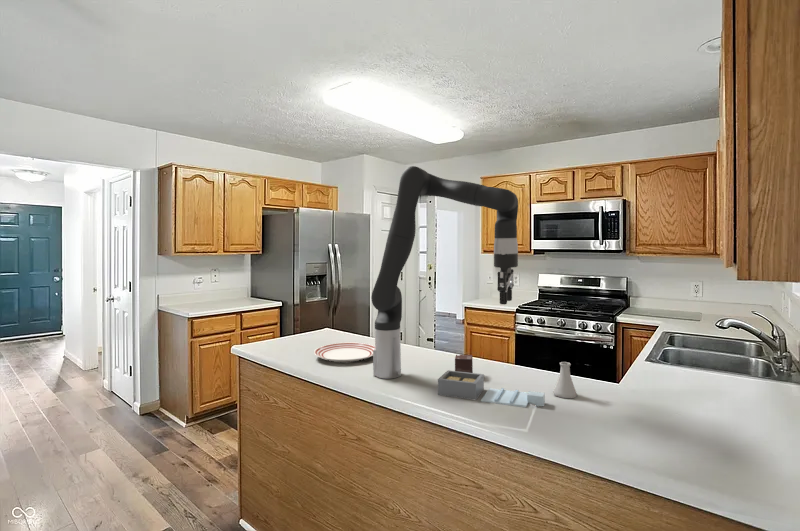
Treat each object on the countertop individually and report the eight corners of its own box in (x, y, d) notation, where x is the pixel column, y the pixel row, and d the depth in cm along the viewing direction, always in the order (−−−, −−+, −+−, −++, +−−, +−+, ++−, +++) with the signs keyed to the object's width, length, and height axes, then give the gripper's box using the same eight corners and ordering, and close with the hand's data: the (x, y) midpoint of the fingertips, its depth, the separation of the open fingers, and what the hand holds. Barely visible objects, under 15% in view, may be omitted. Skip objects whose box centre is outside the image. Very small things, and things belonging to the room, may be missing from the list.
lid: (481, 403, 128) (481, 393, 128) (489, 391, 138) (489, 382, 138) (541, 411, 121) (541, 401, 121) (546, 398, 131) (545, 388, 131)
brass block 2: (461, 394, 134) (461, 381, 134) (464, 390, 138) (464, 377, 138) (473, 395, 133) (473, 383, 133) (477, 391, 136) (477, 379, 136)
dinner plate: (392, 355, 185) (392, 348, 185) (343, 370, 165) (343, 361, 165) (349, 346, 203) (349, 339, 203) (300, 358, 183) (300, 350, 183)
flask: (575, 400, 129) (575, 367, 129) (550, 396, 133) (550, 364, 132) (579, 393, 135) (579, 361, 135) (555, 389, 139) (555, 358, 139)
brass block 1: (445, 392, 137) (445, 379, 136) (449, 388, 140) (449, 376, 140) (457, 393, 135) (457, 381, 135) (461, 389, 139) (461, 377, 138)
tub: (438, 396, 134) (437, 379, 134) (448, 386, 144) (447, 370, 143) (475, 401, 130) (475, 383, 129) (483, 391, 139) (483, 374, 138)
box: (472, 380, 150) (472, 359, 150) (454, 379, 151) (454, 358, 151) (472, 374, 156) (472, 354, 156) (456, 374, 157) (455, 354, 157)
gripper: (498, 251, 147) (498, 299, 148) (489, 253, 134) (489, 305, 135) (521, 251, 144) (521, 300, 145) (513, 253, 131) (513, 306, 132)
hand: (505, 302), depth 140 cm, fingers open, 8 cm apart
